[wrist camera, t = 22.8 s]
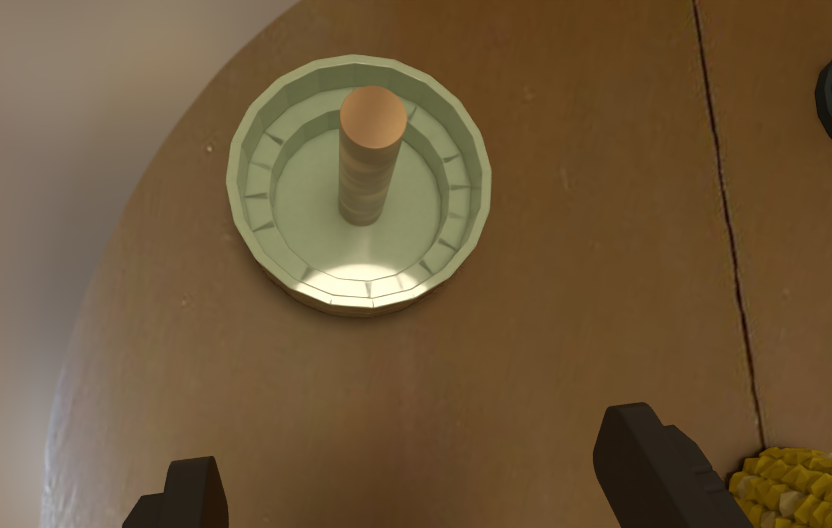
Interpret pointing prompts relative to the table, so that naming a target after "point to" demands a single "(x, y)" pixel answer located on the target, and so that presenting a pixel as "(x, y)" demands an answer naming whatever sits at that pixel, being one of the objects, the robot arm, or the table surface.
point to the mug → (825, 97)
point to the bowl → (319, 188)
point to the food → (786, 488)
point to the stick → (368, 151)
